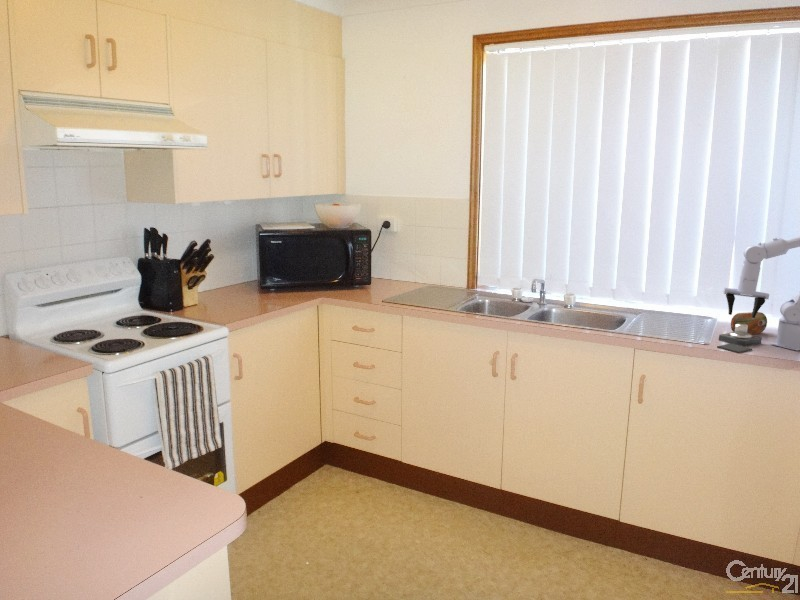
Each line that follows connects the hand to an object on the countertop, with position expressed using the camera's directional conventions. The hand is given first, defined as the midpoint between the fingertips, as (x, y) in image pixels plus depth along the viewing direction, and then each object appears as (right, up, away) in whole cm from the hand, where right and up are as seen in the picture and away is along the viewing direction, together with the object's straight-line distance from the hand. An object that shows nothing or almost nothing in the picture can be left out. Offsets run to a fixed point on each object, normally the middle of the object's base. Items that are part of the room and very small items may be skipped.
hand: (741, 315), depth 235 cm
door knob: (0, -9, +1) cm, 10 cm away
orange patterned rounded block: (+9, -7, +14) cm, 18 cm away
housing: (0, -9, +1) cm, 10 cm away
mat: (-7, -11, -8) cm, 16 cm away
